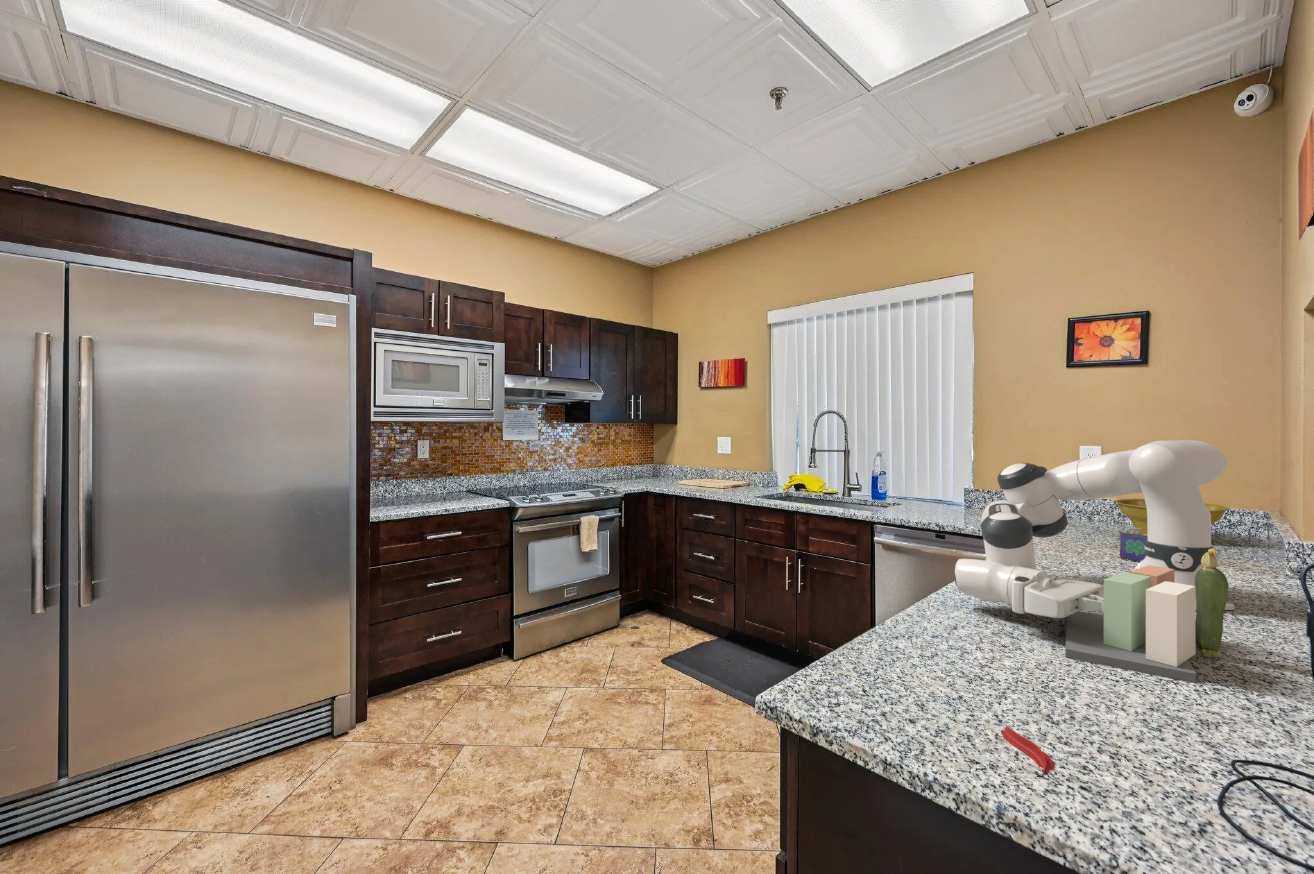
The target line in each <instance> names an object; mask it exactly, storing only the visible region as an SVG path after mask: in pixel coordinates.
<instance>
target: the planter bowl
mask: <svg viewBox="0 0 1314 874" xmlns="http://www.w3.org/2000/svg"><path fill="white" fill-rule="evenodd" d="M1113 502H1114V503H1116V504H1117V506H1118V509H1119V510H1120V512H1121V514H1123V515H1124V516H1126V517H1127V518H1129V520H1130V521H1131V523H1132V525H1133V526H1134V528H1140V529H1141V530H1140V534H1147V508H1146V503H1145V499H1144V498H1121V499H1116V500H1114V501H1113ZM1204 504H1205V506H1206V508H1207V509H1208V510H1209V511H1210V514H1211V525H1212V524H1215V522H1217V523H1218V522H1219V521H1220V520H1221V519H1222V517H1223V516H1224V514H1225V512H1226V511H1229V510H1230V508H1229V507H1228V506H1224V505H1219V504H1213V503H1206V502H1204Z"/></svg>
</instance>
